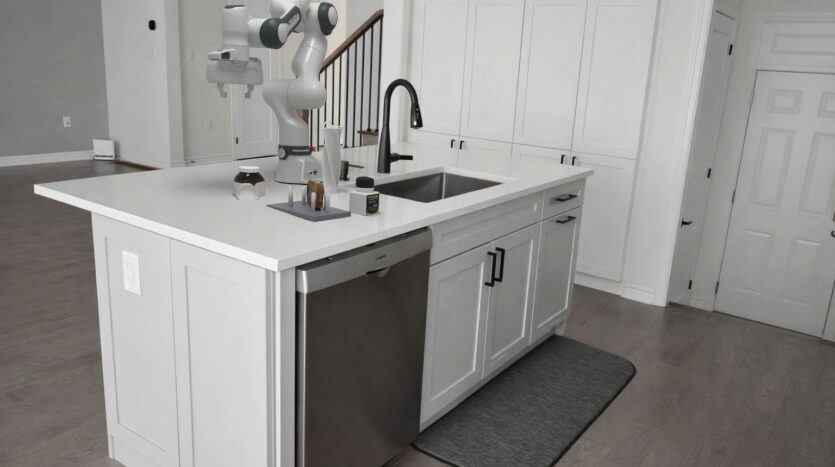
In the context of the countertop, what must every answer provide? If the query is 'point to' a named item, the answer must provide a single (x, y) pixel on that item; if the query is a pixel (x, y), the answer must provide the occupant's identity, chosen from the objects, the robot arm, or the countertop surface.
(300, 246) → the countertop surface
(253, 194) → the spread jar
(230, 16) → the robot arm
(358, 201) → the medicine bottle
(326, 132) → the skyscraper
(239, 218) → the countertop surface
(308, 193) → the tin
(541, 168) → the countertop surface
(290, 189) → the pin tray
